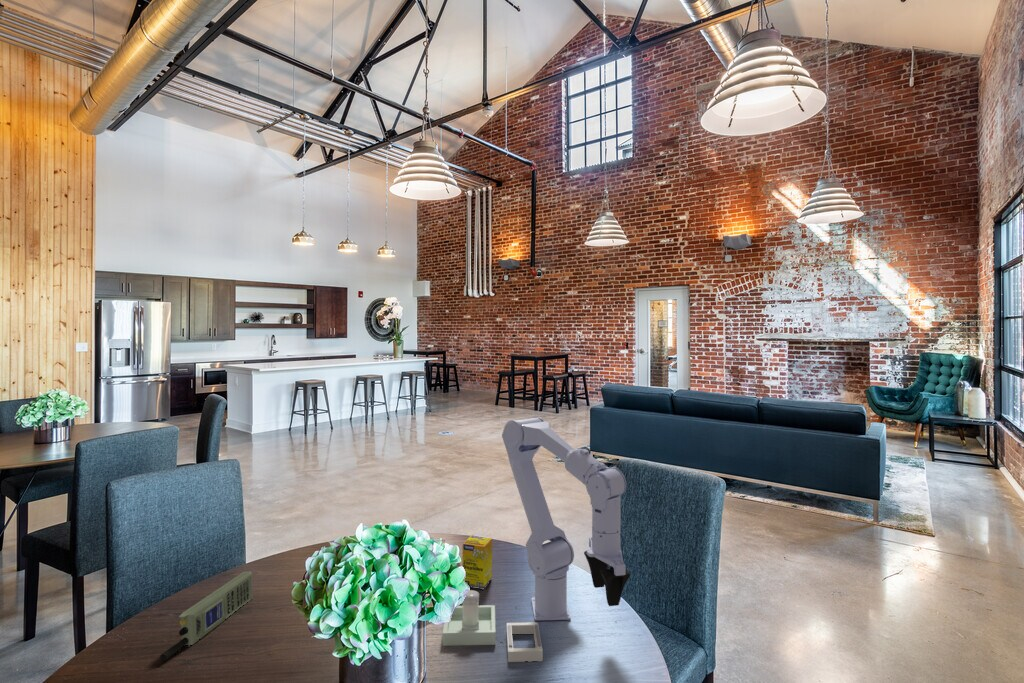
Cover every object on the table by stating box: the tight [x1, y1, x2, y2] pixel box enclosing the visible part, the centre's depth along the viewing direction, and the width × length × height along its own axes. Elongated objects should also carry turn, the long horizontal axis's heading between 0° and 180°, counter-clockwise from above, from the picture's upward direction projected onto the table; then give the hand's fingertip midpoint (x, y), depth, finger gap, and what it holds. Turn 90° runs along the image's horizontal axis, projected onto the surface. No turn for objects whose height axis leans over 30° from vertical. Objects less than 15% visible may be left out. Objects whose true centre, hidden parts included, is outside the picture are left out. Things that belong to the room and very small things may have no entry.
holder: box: [506, 621, 544, 663], centre depth 102 cm, size 10×7×2 cm, turn 3°
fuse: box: [462, 589, 480, 631], centre depth 107 cm, size 4×4×7 cm
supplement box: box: [461, 535, 493, 589], centre depth 129 cm, size 6×6×11 cm
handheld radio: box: [159, 570, 253, 662], centre depth 108 cm, size 7×3×25 cm
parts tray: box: [442, 604, 496, 647], centre depth 107 cm, size 11×11×2 cm
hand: (605, 595), depth 104 cm, fingers open, 7 cm apart
